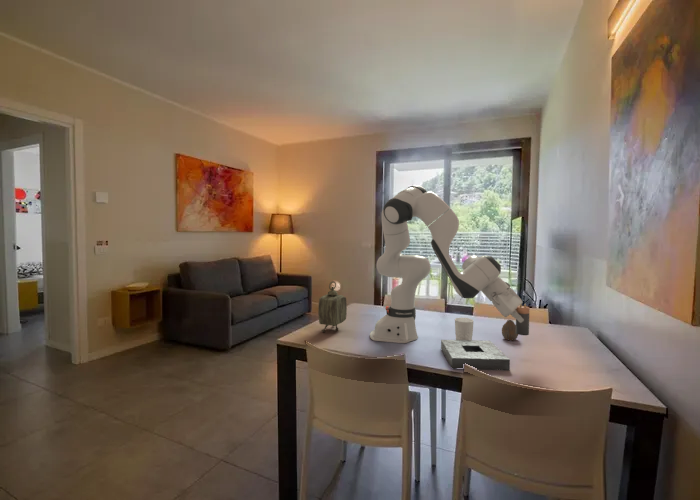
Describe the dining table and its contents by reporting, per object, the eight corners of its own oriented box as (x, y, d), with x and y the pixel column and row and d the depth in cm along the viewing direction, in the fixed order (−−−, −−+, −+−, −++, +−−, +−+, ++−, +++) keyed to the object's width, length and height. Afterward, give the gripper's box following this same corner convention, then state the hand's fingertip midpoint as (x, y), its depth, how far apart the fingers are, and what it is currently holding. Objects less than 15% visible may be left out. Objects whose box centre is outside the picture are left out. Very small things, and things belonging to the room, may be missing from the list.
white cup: (472, 339, 147) (473, 318, 147) (473, 345, 140) (473, 323, 139) (454, 338, 150) (455, 317, 149) (454, 343, 142) (454, 321, 142)
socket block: (452, 368, 116) (452, 358, 116) (441, 349, 136) (441, 339, 136) (509, 370, 114) (509, 359, 114) (489, 350, 134) (490, 340, 134)
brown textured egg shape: (520, 342, 144) (520, 322, 144) (503, 341, 145) (504, 322, 145) (515, 337, 151) (516, 318, 150) (499, 336, 152) (500, 318, 152)
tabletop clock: (332, 325, 171) (331, 279, 170) (347, 327, 168) (347, 280, 166) (318, 333, 158) (318, 282, 157) (334, 335, 154) (334, 284, 153)
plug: (518, 335, 119) (519, 305, 118) (513, 331, 123) (514, 302, 122) (531, 335, 118) (531, 305, 118) (525, 331, 123) (526, 302, 122)
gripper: (496, 289, 116) (526, 321, 110) (508, 282, 132) (535, 309, 126) (483, 300, 119) (511, 331, 113) (497, 291, 135) (522, 318, 129)
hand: (524, 319), depth 120 cm, fingers closed on plug, 4 cm apart
